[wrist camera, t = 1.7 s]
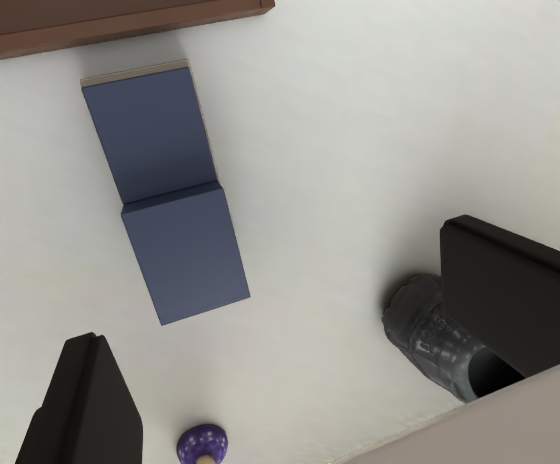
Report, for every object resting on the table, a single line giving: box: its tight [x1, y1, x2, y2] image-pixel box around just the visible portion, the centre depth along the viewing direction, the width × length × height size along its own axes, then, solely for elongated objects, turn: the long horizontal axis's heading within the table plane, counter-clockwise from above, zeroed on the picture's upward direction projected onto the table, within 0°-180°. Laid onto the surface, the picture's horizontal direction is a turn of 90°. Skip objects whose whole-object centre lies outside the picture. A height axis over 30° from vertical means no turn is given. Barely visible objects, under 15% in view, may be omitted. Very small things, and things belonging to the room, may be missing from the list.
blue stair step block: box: [80, 59, 250, 326], centre depth 23 cm, size 6×14×6 cm, turn 12°
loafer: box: [382, 274, 526, 404], centre depth 35 cm, size 10×29×10 cm, turn 59°
